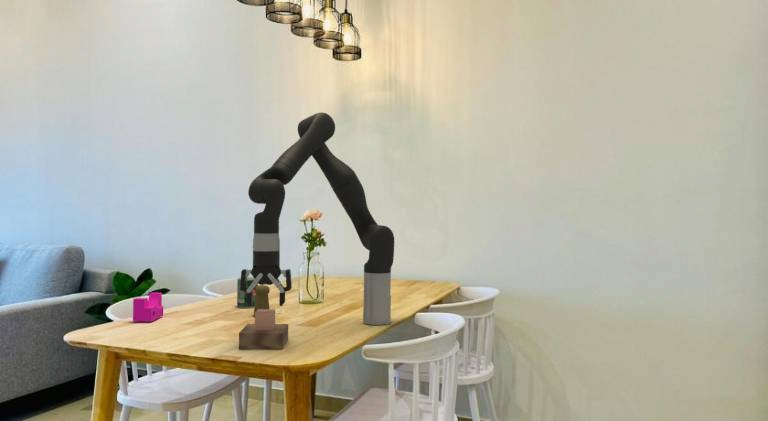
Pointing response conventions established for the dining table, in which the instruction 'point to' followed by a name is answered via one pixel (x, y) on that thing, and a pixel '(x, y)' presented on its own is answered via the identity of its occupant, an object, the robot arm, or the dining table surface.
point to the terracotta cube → (265, 319)
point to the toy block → (148, 307)
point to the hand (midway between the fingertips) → (266, 305)
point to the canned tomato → (245, 294)
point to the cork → (261, 298)
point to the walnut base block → (263, 338)
